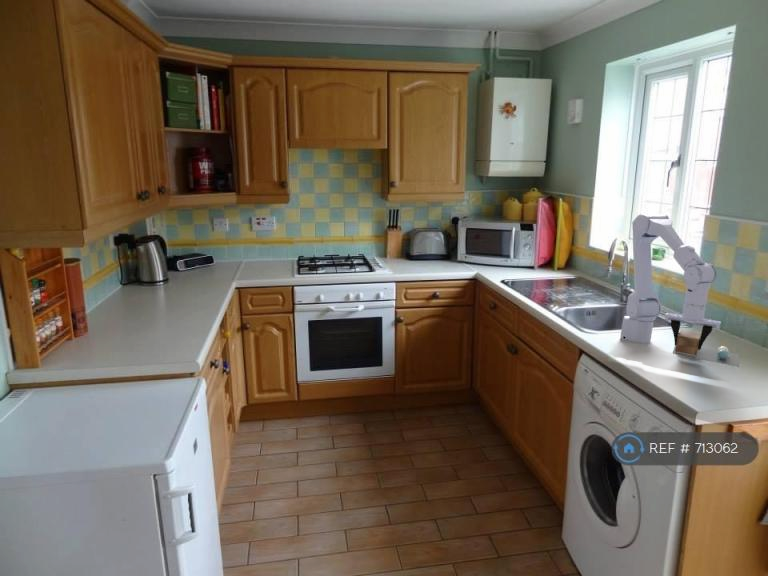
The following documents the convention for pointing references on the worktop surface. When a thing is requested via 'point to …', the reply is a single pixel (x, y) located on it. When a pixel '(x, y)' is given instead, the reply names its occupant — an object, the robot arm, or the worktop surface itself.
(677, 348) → the walnut box
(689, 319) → the robot arm
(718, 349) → the marble
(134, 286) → the worktop surface
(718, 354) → the marble
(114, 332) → the worktop surface
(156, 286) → the worktop surface
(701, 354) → the board
